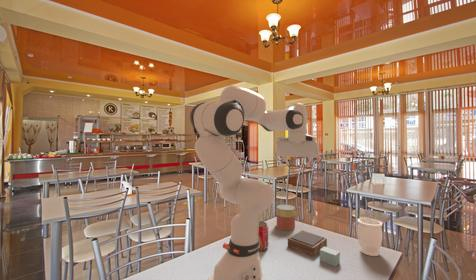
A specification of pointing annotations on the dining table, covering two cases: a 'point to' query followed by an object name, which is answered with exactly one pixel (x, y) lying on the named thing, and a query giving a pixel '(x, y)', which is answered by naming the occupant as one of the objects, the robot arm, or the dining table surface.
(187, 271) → the dining table surface
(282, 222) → the canned food
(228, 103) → the robot arm
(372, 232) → the jar
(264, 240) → the beverage can
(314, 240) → the walnut picture frame
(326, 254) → the pale green block
